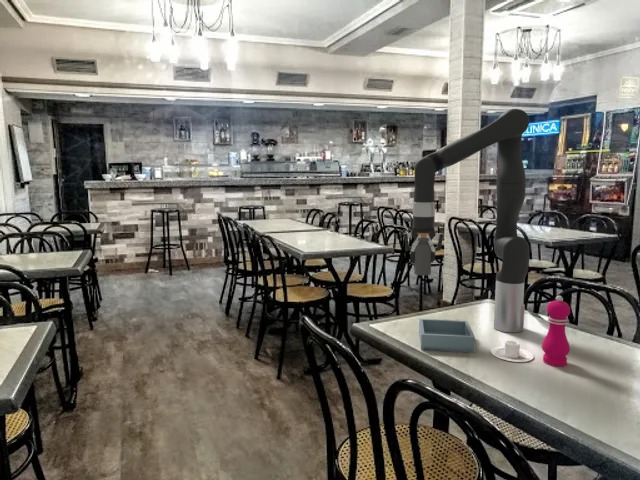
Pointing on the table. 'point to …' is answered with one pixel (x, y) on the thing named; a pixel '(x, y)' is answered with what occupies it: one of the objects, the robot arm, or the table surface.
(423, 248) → the bottle
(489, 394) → the table surface
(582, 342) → the table surface
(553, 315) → the pepper mill
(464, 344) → the tote
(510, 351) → the candle holder
